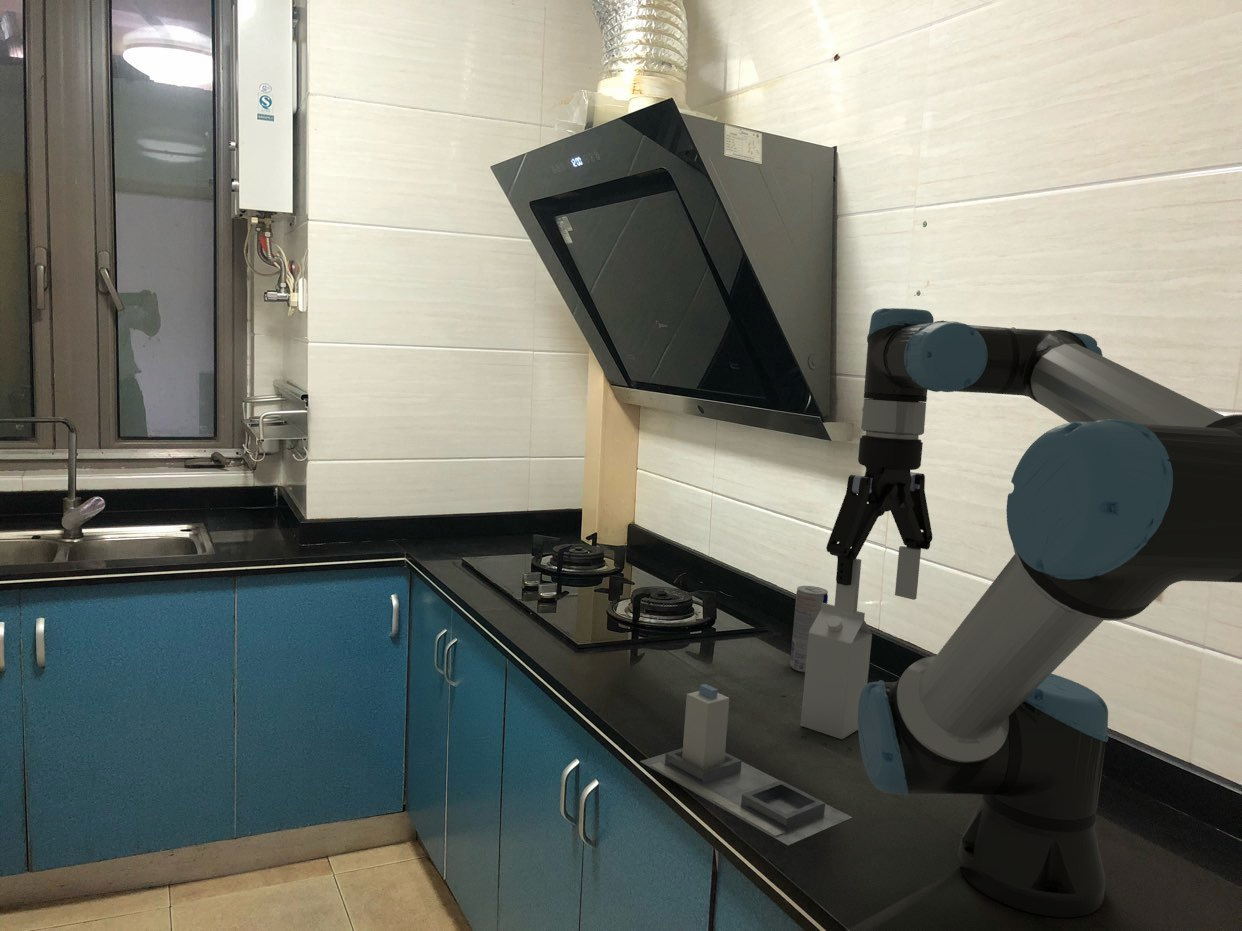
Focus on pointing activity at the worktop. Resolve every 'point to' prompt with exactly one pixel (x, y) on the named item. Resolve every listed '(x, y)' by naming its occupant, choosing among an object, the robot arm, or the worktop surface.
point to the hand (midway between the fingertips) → (876, 604)
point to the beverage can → (805, 622)
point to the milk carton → (835, 671)
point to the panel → (752, 796)
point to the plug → (705, 727)
